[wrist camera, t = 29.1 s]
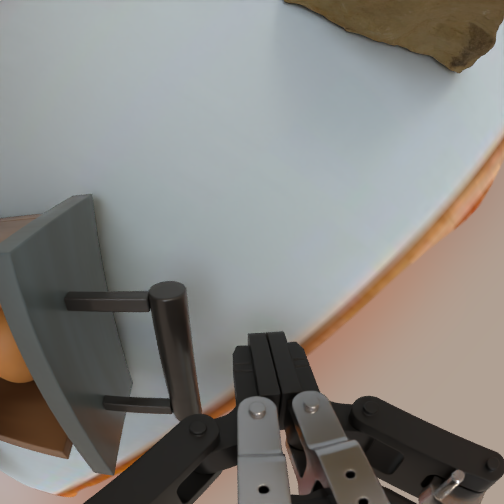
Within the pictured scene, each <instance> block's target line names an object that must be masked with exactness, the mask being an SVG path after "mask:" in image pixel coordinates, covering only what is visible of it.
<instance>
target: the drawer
mask: <svg viewBox="0 0 504 504" xmlns="http://www.w3.org/2000/svg"><path fill="white" fill-rule="evenodd" d="M0 305H1V307H2V310H3V313H4V315H5V318H6V320H7V323H8V325H9V328H10V330H11V333H12V335H13V337H14V340H15V342H16V344H17V347H18V349H19V351H20V353H21V355H22V357H23V359H24V362H25V364H26V366H27V368H28V370H29V372H30V374H31V376H32V377H33V379H34V380H33V381H30V382H26V383H15V382H10V381H7V380H5V379H3V378H1V377H0V440H1V441H4V442H7V443H10V444H13V445H16V446H19V447H22V448H26V449H29V450H33V451H36V452H40V453H44V454H48V455H52V456H56V457H60V458H65V459H69V455H70V452H71V448H72V445H74V446H75V448H76V449H77V450H78V452H79V453H80V454H81V456H82V457H83V458H84V460H85V461H86V462H87V464H88V465H89V466H90V468H91V469H92V470H93V471H94V472H95V473H100V474H107V475H114V473H115V467H116V461H117V455H118V450H119V445H120V439H121V434H122V429H123V424H124V420H125V415H126V412H134V413H153V414H172V413H174V416H175V417H176V419H178V420H179V421H182V420H183V419H184V418H186V417H187V416H190V415H193V414H202V408H201V402H200V395H199V388H198V382H197V375H196V367H195V360H194V352H193V344H192V336H191V327H190V318H189V309H188V299H187V289H186V287H185V286H184V285H183V284H182V283H179V282H175V281H165V282H160V283H157V284H155V285H153V286H152V287H151V288H150V289H149V291H118V292H108V290H107V285H106V280H105V275H104V270H103V265H102V259H101V254H100V248H99V242H98V235H97V228H96V221H95V214H94V206H93V197H92V194H86V195H75V196H71V197H70V198H68V199H66V200H65V201H63V202H61V203H60V204H58V205H56V206H55V207H53V208H52V209H50V210H48V211H47V212H45V213H44V214H35V215H25V216H16V217H7V218H0ZM150 308H151V313H152V319H153V324H154V330H155V335H156V340H157V345H158V350H159V355H160V359H161V364H162V368H163V373H164V377H165V382H166V386H167V390H168V394H169V398H140V397H130V392H131V388H132V384H133V382H132V379H131V376H130V373H129V370H128V367H127V363H126V360H125V357H124V353H123V350H122V346H121V343H120V339H119V335H118V331H117V328H116V324H115V320H114V316H113V312H149V311H150Z"/></svg>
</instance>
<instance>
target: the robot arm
mask: <svg viewBox="0 0 504 504" xmlns="http://www.w3.org/2000/svg"><path fill="white" fill-rule="evenodd" d="M233 378H234V388H235V399H236V407H235V408H234V409H233V410H232V411H231V412H230V413H229V414H227V415H225V416H222V417H219V418H216V419H213V418H212V417H210V416H208V415H204V414H193V415H190V416H187V417H186V418H184V419H183V420H182V421H181V422H180V423H178V424H177V425H176V426H175V427H174V428H173V429H172V430H171V431H170V432H169V433H167V434H166V435H165V436H164V437H163V438H162V439H161V440H160V441H158V442H157V443H156V444H155V445H154V446H153V447H152V448H151V449H149V450H148V451H147V452H146V453H145V454H144V455H142V456H141V457H140V458H139V459H138V460H137V461H135V462H134V463H133V464H132V465H131V466H129V467H128V468H127V469H126V470H125V471H123V472H122V473H121V474H120V475H119V476H117V477H116V478H115V479H114V480H113V481H111V482H110V483H109V484H108V485H106V486H105V487H104V488H103V489H101V490H100V491H99V492H98V493H96V494H95V495H94V496H93V497H91V498H90V499H89V500H87V501H86V502H85V503H84V504H193V503H194V502H195V501H196V500H197V499H198V498H199V497H200V496H201V495H202V494H203V492H204V491H205V490H206V489H207V488H208V487H209V486H210V485H211V484H212V483H213V481H215V479H216V478H217V477H218V476H219V475H220V474H221V472H222V470H225V469H227V468H231V467H233V466H236V465H237V472H238V474H237V475H238V504H416V503H415V502H413V501H411V500H409V499H407V498H405V497H403V496H401V495H399V494H397V493H396V492H394V491H392V490H390V489H388V488H386V487H383V486H381V484H380V483H379V480H378V478H379V479H381V480H383V481H385V482H387V483H389V484H391V485H393V486H395V487H397V488H399V489H401V490H403V491H405V492H407V493H409V494H411V495H413V496H415V497H417V498H419V504H480V503H481V501H482V499H483V496H484V493H485V492H486V490H487V489H488V488H489V487H491V486H492V485H493V484H494V483H495V482H496V481H497V480H498V479H499V478H501V477H502V475H503V474H504V459H503V457H502V456H501V455H500V454H499V453H497V452H495V451H492V450H490V449H487V448H485V447H483V446H480V445H478V444H475V443H473V442H471V441H468V440H466V439H464V438H461V437H459V436H457V435H455V434H452V433H450V432H448V431H446V430H443V429H441V428H439V427H437V426H435V425H432V424H430V423H428V422H426V421H424V420H422V419H420V418H418V417H416V416H413V415H411V414H409V413H407V412H405V411H403V410H401V409H399V408H397V407H395V406H393V405H391V404H389V403H387V402H385V401H383V400H381V399H379V398H377V397H373V396H364V397H360V398H358V399H357V400H356V401H355V402H354V403H353V404H352V405H351V404H340V403H334V402H331V401H329V400H328V398H327V397H326V396H325V395H323V394H322V393H320V391H319V389H318V386H317V383H316V381H315V378H314V375H313V373H312V370H311V367H310V366H309V362H308V360H307V357H306V354H305V351H304V349H303V348H302V347H301V346H300V345H299V344H298V343H297V342H289V343H287V340H286V337H285V334H284V332H283V331H280V332H266V333H251V334H248V346H237V347H236V349H235V351H234V353H233ZM284 429H285V432H286V448H287V451H288V454H289V457H290V460H291V463H292V466H293V469H294V472H295V474H296V478H297V481H298V488H299V495H290V487H289V479H288V473H287V472H288V471H287V464H286V457H285V454H283V452H282V445H281V437H280V430H284Z"/></svg>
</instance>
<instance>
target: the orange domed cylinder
mask: <svg viewBox="0 0 504 504" xmlns="http://www.w3.org/2000/svg"><path fill="white" fill-rule="evenodd" d="M0 377H1V378H3V379H5V380H7V381H10V382H15V383H26V382H30V381H33V380H34V379H33V377H32V376H31V374H30V372H29V370H28V368H27V366H26V364H25V362H24V359H23V357H22V355H21V353H20V351H19V349H18V347H17V344H16V342H15V340H14V337H13V335H12V333H11V330H10V328H9V325H8V323H7V320H6V318H5V315H4V313H3V310H2V307H1V305H0Z"/></svg>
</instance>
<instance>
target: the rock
mask: <svg viewBox="0 0 504 504" xmlns="http://www.w3.org/2000/svg"><path fill="white" fill-rule="evenodd" d="M284 1H285V2H287V3H296V4H300V5H303V6H305V7H307V8H309V9H311V10H312V11H314V12H316V13H319V14H321V15H323V16H325V17H326V18H327V19H328V20H330V21H331V22H333V23H335V24H337V25H339V26H342V27H344V29H345V30H346V31H348V32H353V33H358V34H360V35H363V36H366V37H368V38H371V39H372V40H374V41H377V42H384V43H387V44H390V45H394V46H395V45H399V46H401V47H404V48H407V49H408V50H410V51H411V52H415V53H419V54H426V55H430V56H432V57H434V58H435V59H436V60H437V61H439V62H440V63H442V64H443V65H445V66H446V67H447V68H448V69H450V70H451V71H455V72H457V73H461V72H462V70H464V69H466V68H469V67H471V66H472V65H473V64H474V63H475V62H476V60H477V59H479V58H480V57H481V56H483V55H485V54H486V53H487V52H488V51H489V50H490V49H492V48H493V46H494V44H495V42H496V32H497V30H498V28H499V25H500V24H501V23H502V21H503V19H504V0H284Z"/></svg>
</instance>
